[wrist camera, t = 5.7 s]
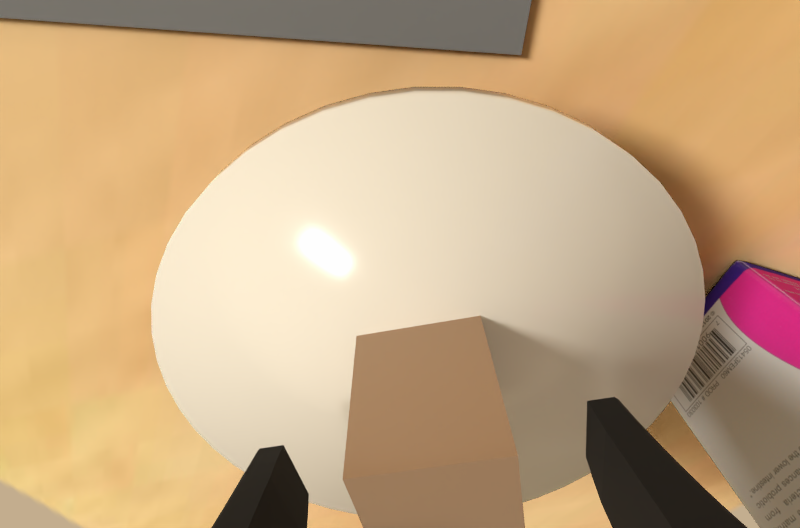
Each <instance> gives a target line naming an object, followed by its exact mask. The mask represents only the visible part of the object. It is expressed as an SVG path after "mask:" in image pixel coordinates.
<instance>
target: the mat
mask: <svg viewBox="0 0 800 528" xmlns="http://www.w3.org/2000/svg"><path fill="white" fill-rule="evenodd" d="M531 1H532V0H0V18H10V19H24V20H38V21H52V22H66V23H80V24H94V25H108V26H122V27H136V28H149V29H163V30H177V31H191V32H205V33H219V34H233V35H247V36H261V37H275V38H289V39H303V40H317V41H331V42H345V43H359V44H373V45H387V46H401V47H415V48H429V49H443V50H457V51H470V52H484V53H498V54H512V55H521V54H522V48H523V43H524V38H525V32H526V27H527V22H528V17H529V11H530V6H531Z"/></svg>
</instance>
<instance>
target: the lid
mask: <svg viewBox="0 0 800 528" xmlns="http://www.w3.org/2000/svg"><path fill="white" fill-rule="evenodd" d="M704 307H705V289H704V276H703V268H702V264H701V260H700V257H699V253H698V249H697V245H696V241H695V239H694V237H693V235H692V233H691V231H690V229H689V226H688V224H687V222H686V220H685V218H684V216H683V214H682V212H681V210H680V209H679V207H678V206H677V205H676V203H675V202H674V201H673V199H672V198H671V196H670V195H669V194H668V192H667V191H666V190H665V188H664V187H663V186H662V184H661V183H660V182H659V181H658V180H657V179H656V178H655V177H654V176H653V175H652V174H651V173H650V172H649V171H648V170H647V169H646V168H645V167H644V166H642V165H641V164H640V163H639V162H638V161H637V160H636V159H635V158H634V157H633V156H632V155H630V154H629V153H628V152H626V151H625V150H623V149H622V148H621V147H619V146H618V145H616V144H615V143H613V142H612V141H610V140H609V139H608V138H606V137H605V136H603V135H602V134H600V133H599V132H597V131H596V130H594V129H593V128H591V127H590V126H588V125H587V124H585V123H584V122H581V121H579V120H577V119H575V118H573V117H571V116H568V115H566V114H564V113H562V112H560V111H558V110H555V109H553V108H551V107H549V106H547V105H544V104H540V103H537V102H533V101H530V100H526V99H523V98H519V97H516V96H513V95H509V94H506V93H500V92H493V91H485V90H478V89H471V88H464V87H411V88H403V89H396V90H389V91H382V92H374V93H368V94H365V95H361V96H358V97H354V98H350V99H347V100H343V101H340V102H336V103H333V104H329V105H326V106H323V107H321V108H319V109H317V110H314V111H312V112H310V113H308V114H305V115H303V116H301V117H299V118H296V119H294V120H292V121H290V122H287V123H285V124H284V125H282V126H281V127H279V128H277V129H276V130H274V131H273V132H271V133H269V134H268V135H266V136H265V137H263V138H261V139H260V140H258V141H257V142H255V143H254V144H252V145H251V146H249V147H248V148H247V149H246V150H245V151H244V152H243V153H241V154H240V155H239V156H238V157H237V158H236V159H234V160H233V161H232V162H231V163H230V164H229V165H227V166H226V167H225V168H224V169H223V170H222V171H221V172H220V173H219V174H218V175H217V176H216V177H215V179H214V180H213V181H212V182H211V183H210V184H209V185H208V187H207V188H206V189H205V190H204V191H203V193H202V194H201V195H200V196H199V197H198V198H197V200H196V201H195V202H194V203H193V204H192V206H191V207H190V208H189V209H188V210H187V212H186V213H185V214H184V216H183V218H182V220H181V221H180V223H179V225H178V227H177V228H176V230H175V232H174V233H173V235H172V237H171V239H170V240H169V242H168V244H167V247H166V249H165V252H164V255H163V258H162V260H161V263H160V266H159V269H158V271H157V274H156V280H155V286H154V292H153V298H152V304H151V311H152V337H153V342H154V347H155V353H156V358H157V362H158V365H159V367H160V370H161V373H162V375H163V378H164V381H165V384H166V386H167V388H168V390H169V392H170V393H171V395H172V397H173V399H174V401H175V402H176V404H177V406H178V408H179V409H180V411H181V412H182V413H183V415H184V416H185V417H186V419H187V420H188V421H189V423H190V424H191V425H192V427H193V428H194V429H195V430H196V431H197V432H198V433H199V434H200V435H201V436H202V437H203V439H204V440H205V441H206V442H207V443H208V444H209V445H210V446H211V447H212V448H213V449H215V450H216V451H217V452H218V453H220V454H221V455H222V456H223V457H224V458H226V459H227V460H228V461H229V462H231V463H232V464H233V465H235V466H236V467H238V468H239V469H241V470H242V471H244V472H245V471H246V470H247V468H248V466H249V464H250V463H251V461H252V459H253V458H254V456H255V454H256V453H257V451H258V450H259V449H260V448H267V447H273V446H280V445H284V447H285V449H286V451H287V453H288V455H289V457H290V459H291V460H292V462H293V464H294V466H295V468H296V470H297V472H298V474H299V476H300V478H301V480H302V482H303V484H304V486H305V488H306V490H307V492H308V493H309V500H308V502H309V503H313V504H316V505H319V506H323V507H326V508H329V509H334V510H339V511H343V512H348V513H353V514H358V516H359V519H360V521H361V523H362V525H363V528H525V524H524V513H523V502H526V501H529V500H532V499H535V498H538V497H541V496H543V495H545V494H548V493H550V492H553V491H555V490H557V489H560V488H562V487H564V486H566V485H568V484H570V483H572V482H574V481H576V480H578V479H580V478H582V477H584V476H586V475H588V474H589V473H591V471H590V468H589V465H588V462H587V459H586V424H587V401H590V400H596V399H603V398H610V397H616V398H617V399H619V400H620V401H621V403H622V404H623V405H624V406H625V407H626V408H627V409H628V410H629V412H630V413H631V414H632V415H633V416H634V417H635V418H636V419H637V421H638V422H639V423H640V424H641V425H642V426H643V427H644V428H645V429H647V428H648V427H649V426H650V425H651V424H652V423H653V422H654V421H655V419H656V418H657V417H658V416H659V415H660V413H661V412H662V411H663V410H664V409H665V407H666V406H667V405H668V404H669V402H670V401H671V399H672V397H673V396H674V394H675V393H676V391H677V389H678V388H679V386H680V385H681V383H682V382H683V380H684V378H685V375H686V373H687V371H688V369H689V367H690V364H691V362H692V360H693V358H694V356H695V352H696V349H697V345H698V342H699V338H700V334H701V331H702V326H703V316H704Z"/></svg>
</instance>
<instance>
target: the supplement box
mask: <svg viewBox="0 0 800 528" xmlns="http://www.w3.org/2000/svg"><path fill="white" fill-rule="evenodd" d="M671 402H672V403H673V405H674V406H675V408H676V409H677V411H678V412H679V413H680V415H681V416H682V418H683V419H684V420H685V422H686V423H687V425H688V426H689V428H690V429H691V431H692V432H693V433H694V435H695V436H696V438H697V439H698V441H699V442H700V444H701V445H702V446H703V448H704V449H705V451H706V452H707V453H708V455H709V456H710V458H711V459H712V460H713V462H714V463H715V465H716V466H717V468H718V469H719V470H720V472H721V473H722V475H723V476H724V477H725V479H726V480H727V482H728V483H729V484H730V486H731V487H732V489H733V490H734V492H735V493H736V495H737V496H738V497H739V499H740V500H741V502H742V503H743V504H744V506H745V507H746V509H747V510H748V511H749V513H750V514H751V516H752V517H753V518H754V520H755V521H756V523H757V524H758V526H759V527H760V528H800V279H799V278H795V277H792V276H789V275H786V274H783V273H780V272H777V271H774V270H770V269H767V268H764V267H760V266H757V265H754V264H751V263H747V262H743V261H740V260H737V261H735V262H734V264H733V265H732V266H731V267H730V268H729V269H728V270H727V272H726V273H725V274H724V275H723V277H722V278H721V279H720V280H719V282H718V283H717V284H716V285H715V287H714V288H713V289H712V290H711V292H710V293H709V294H708V295H707V296H706V298H705V307H704V316H703V326H702V331H701V334H700V338H699V342H698V345H697V349H696V352H695V356H694V358H693V360H692V362H691V364H690V367H689V369H688V371H687V373H686V375H685V378H684V380H683V382H682V383H681V385H680V386H679V388H678V389H677V391H676V393H675V394H674V396H673V397H672V399H671Z"/></svg>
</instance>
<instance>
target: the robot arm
mask: <svg viewBox="0 0 800 528" xmlns="http://www.w3.org/2000/svg"><path fill="white" fill-rule="evenodd" d="M586 459H587V462H588V465H589V468H590V471H591V474H592V477H593V480H594V483H595V486H596V489H597V492H598V494H599V497H600V500H601V503H602V505H603V507H604V510H605V512H606V514H607V516H608V519H609V521H610V523H611V525H612V527H613V528H747V527H746V526H745V525H744V524H742V523H741V522H740V521H739V520H738V519H737V518H736V517H735V516H734V515H733V514H731V513H730V512H729V511H728V510H727V509H726V508H725V507H724V506H722V505H721V504H720V503H719V502H718V501H717V500H716V499H715V498H714V497H713V496H712V495H711V494H710V493H709V492H707V491H706V490H705V489H704V488H703V487H702V486H701V485H700V484H699V483H698V482H697V481H696V480H695V479H694V478H693V477H692V476H691V475H690V474H689V473H688V472H687V471H686V470H685V469H684V468H683V467H682V466H681V465H680V464H679V463H678V462H677V461H676V460H675V459H674V458H673V457H672V456H671V455H670V454H669V453H668V452H667V451H666V450H665V449H664V448H663V447H662V446H661V445H660V444H659V443H658V442H657V441H656V440H655V439H654V438H653V437H652V436H651V435H650V434H649V432H648V431H647V430H646V429H645V428H644V427H643V426H642V425H641V424H640V423H639V422H638V421H637V419H636V418H635V417H634V416H633V415H632V414H631V413H630V412H629V410H628V409H627V408H626V407H625V406H624V405H623V404H622V403H621V401H620V400H619V399H617V398H616V397H610V398H603V399H596V400H590V401H587V424H586ZM308 500H309V493H308V492H307V490H306V488H305V486H304V484H303V482H302V480H301V478H300V476H299V474H298V472H297V470H296V468H295V466H294V464H293V462H292V460H291V459H290V457H289V455H288V453H287V451H286V449H285V447H284V445H280V446H273V447H267V448H260V449H259V450H258V451H257V453H256V454H255V456H254V458H253V459H252V461H251V463H250V464H249V466H248V468H247V470H246V471H245V473H244V475H243V476H242V478H241V480H240V481H239V483H238V485H237V487H236V488H235V490H234V492H233V493H232V495H231V497H230V498H229V500H228V502H227V503H226V505H225V507H224V508H223V510H222V512H221V513H220V515H219V516H218V518H217V520H216V521H215V523H214V524H213V526H212V528H307V518H308Z"/></svg>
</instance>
